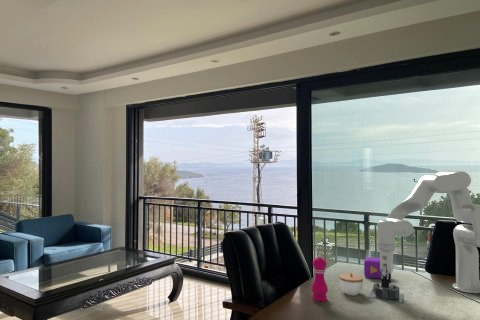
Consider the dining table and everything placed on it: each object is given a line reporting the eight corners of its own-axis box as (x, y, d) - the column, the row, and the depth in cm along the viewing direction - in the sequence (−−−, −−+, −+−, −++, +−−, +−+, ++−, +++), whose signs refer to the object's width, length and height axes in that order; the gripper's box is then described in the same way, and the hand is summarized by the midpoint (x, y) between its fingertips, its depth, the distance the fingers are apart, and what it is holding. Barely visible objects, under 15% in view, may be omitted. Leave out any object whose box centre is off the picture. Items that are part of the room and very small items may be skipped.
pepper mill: (328, 297, 161) (328, 253, 162) (327, 302, 155) (326, 256, 155) (312, 295, 164) (312, 252, 164) (310, 300, 157) (310, 255, 157)
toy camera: (392, 280, 187) (392, 261, 187) (365, 278, 190) (364, 260, 190) (387, 274, 198) (387, 256, 198) (362, 273, 200) (362, 255, 201)
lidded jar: (364, 291, 170) (364, 271, 170) (361, 298, 160) (361, 277, 160) (341, 288, 174) (341, 269, 174) (337, 295, 164) (337, 274, 165)
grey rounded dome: (393, 292, 165) (393, 283, 165) (392, 296, 159) (392, 287, 160) (380, 290, 168) (380, 281, 168) (378, 294, 162) (378, 284, 162)
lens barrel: (403, 294, 165) (403, 285, 166) (402, 303, 155) (401, 293, 155) (372, 289, 172) (372, 280, 172) (368, 297, 162) (368, 287, 162)
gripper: (393, 251, 155) (393, 291, 154) (396, 244, 170) (396, 281, 170) (374, 249, 158) (375, 289, 158) (379, 242, 174) (380, 278, 173)
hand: (386, 284), depth 164 cm, fingers open, 8 cm apart
